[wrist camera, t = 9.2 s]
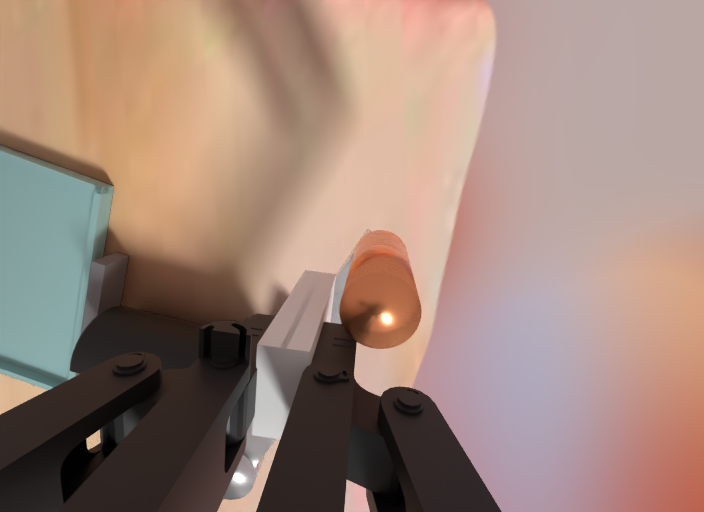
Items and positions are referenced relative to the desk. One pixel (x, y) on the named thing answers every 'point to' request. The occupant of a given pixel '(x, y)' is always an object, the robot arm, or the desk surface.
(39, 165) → the tray
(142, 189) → the desk surface
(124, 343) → the end cap
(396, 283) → the crank handle
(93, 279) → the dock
